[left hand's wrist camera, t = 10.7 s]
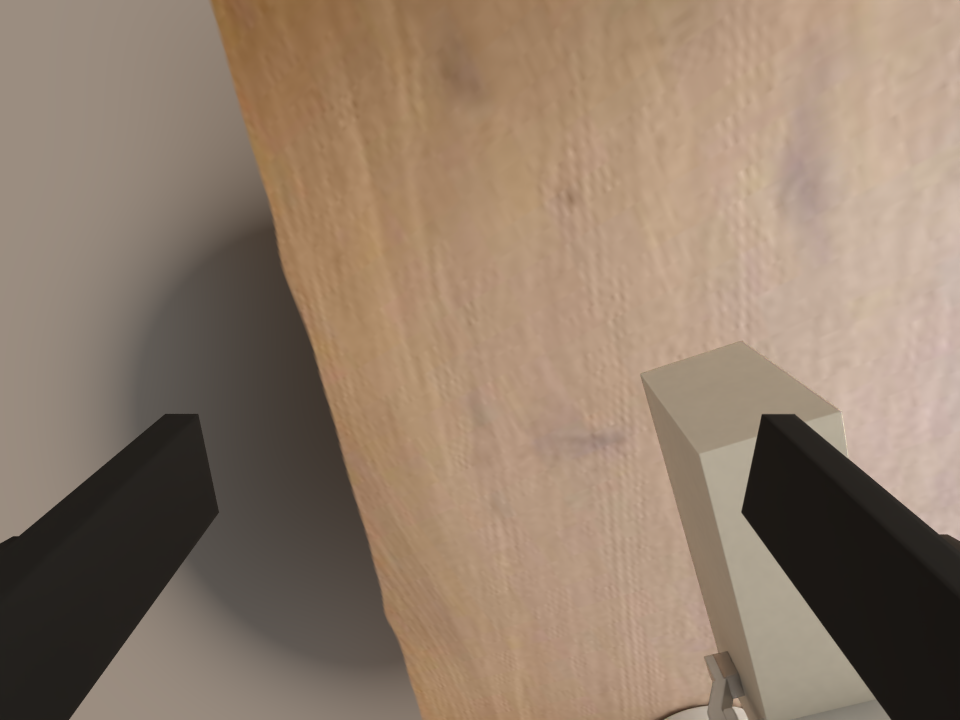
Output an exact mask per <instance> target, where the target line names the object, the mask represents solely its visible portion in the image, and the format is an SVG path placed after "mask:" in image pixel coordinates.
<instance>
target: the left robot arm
mask: <svg viewBox="0 0 960 720" xmlns="http://www.w3.org/2000/svg"><path fill="white" fill-rule="evenodd" d="M218 513H219V511H218V506H217V501H216V496H215V492H214V487H213V482H212V477H211V473H210V468H209V463H208V458H207V454H206V449H205V444H204V439H203V435H202V430H201V425H200V420H199V415H198V414H165V415H164V416H162V417H161V418H160V419H159V420H158V421H156V422H155V423H154V424H153V425H152V426H150V427H149V428H148V429H147V430H146V431H144V432H143V433H142V434H141V435H140V436H138V437H137V438H136V439H135V440H134V441H132V442H131V443H130V444H129V445H128V446H126V447H125V448H124V449H123V450H122V451H120V452H119V453H118V454H117V455H116V456H114V457H113V458H112V459H111V460H110V461H109V462H107V463H106V464H105V465H104V466H102V467H101V468H100V469H99V470H98V471H97V472H95V473H94V474H93V475H92V476H91V477H89V478H88V479H87V480H86V481H85V482H83V483H82V484H81V485H80V486H79V487H77V488H76V489H75V490H74V491H73V492H71V493H70V494H69V495H68V496H67V497H65V498H64V499H63V500H62V501H61V502H59V503H58V504H57V505H56V506H55V507H53V508H52V509H51V510H50V511H49V512H47V513H46V514H45V515H44V516H43V517H41V518H40V519H39V520H38V521H37V522H35V523H34V524H33V525H32V526H31V527H29V528H28V529H27V530H26V531H25V532H23V533H22V534H21V535H20V536H13V537H11V538H9V539H8V540H6V541H4V542H2V543H0V720H69V719H70V717H71V716H72V715H73V713H74V712H75V711H76V709H77V708H78V706H79V705H80V704H81V702H82V701H83V700H84V698H85V697H86V695H87V694H88V693H89V691H90V690H91V689H92V687H93V686H94V684H95V683H96V682H97V680H98V679H99V677H100V676H101V675H102V673H103V672H104V671H105V669H106V668H107V666H108V665H109V664H110V662H111V661H112V659H113V658H114V657H115V655H116V654H117V653H118V651H119V650H120V648H121V647H122V646H123V644H124V643H125V641H126V640H127V639H128V637H129V636H130V635H131V633H132V632H133V630H134V629H135V628H136V626H137V625H138V624H139V622H140V621H141V619H142V618H143V617H144V615H145V614H146V612H147V611H148V610H149V608H150V607H151V605H152V604H153V603H154V601H155V600H156V599H157V597H158V596H159V594H160V593H161V592H162V590H163V589H164V588H165V586H166V585H167V583H168V582H169V581H170V579H171V578H172V576H173V575H174V574H175V572H176V571H177V570H178V568H179V567H180V565H181V564H182V563H183V561H184V560H185V558H186V557H187V556H188V554H189V553H190V552H191V550H192V549H193V547H194V546H195V545H196V543H197V542H198V541H199V539H200V538H201V536H202V535H203V534H204V532H205V531H206V529H207V528H208V527H209V525H210V524H211V522H212V521H213V520H214V518H215V517H216V516H217V514H218ZM741 513H742V514H743V516H744V517H745V518H746V520H747V521H748V523H749V524H750V525H751V527H752V528H753V529H754V531H755V532H756V534H757V535H758V536H759V538H760V539H761V541H762V542H763V543H764V545H765V546H766V547H767V549H768V550H769V552H770V553H771V554H772V556H773V557H774V559H775V560H776V561H777V563H778V564H779V565H780V567H781V568H782V570H783V571H784V572H785V574H786V575H787V576H788V578H789V579H790V581H791V582H792V583H793V585H794V586H795V588H796V589H797V590H798V592H799V593H800V594H801V596H802V597H803V599H804V600H805V601H806V603H807V604H808V606H809V607H810V608H811V610H812V611H813V612H814V614H815V615H816V617H817V618H818V619H819V621H820V622H821V624H822V625H823V626H824V628H825V629H826V630H827V632H828V633H829V635H830V636H831V637H832V639H833V640H834V641H835V643H836V644H837V646H838V647H839V648H840V650H841V651H842V653H843V654H844V655H845V657H846V658H847V659H848V661H849V662H850V664H851V665H852V666H853V668H854V669H855V671H856V672H857V673H858V675H859V676H860V677H861V679H862V680H863V682H864V683H865V684H866V686H867V687H868V689H869V690H870V691H871V693H872V694H873V695H874V697H875V698H876V700H877V701H878V702H879V704H880V705H881V706H882V708H883V709H884V711H885V712H886V713H887V715H888V716H889V718H890V719H891V720H960V541H958V540H957V539H955V538H953V537H951V536H949V535H939V534H938V533H937V532H935V531H934V530H933V529H932V528H931V527H929V526H928V525H927V524H926V523H925V522H923V521H922V520H921V519H920V518H919V517H917V516H916V515H915V514H914V513H913V512H911V511H910V510H909V509H908V508H907V507H905V506H904V505H903V504H902V503H901V502H899V501H898V500H897V499H896V498H895V497H893V496H892V495H891V494H890V493H889V492H887V491H886V490H885V489H884V488H883V487H881V486H880V485H879V484H878V483H877V482H876V481H874V480H873V479H872V478H871V477H870V476H868V475H867V474H866V473H865V472H864V471H862V470H861V469H860V468H859V467H858V466H856V465H855V464H854V463H853V462H852V461H850V460H849V459H848V458H847V457H846V456H844V455H843V454H842V453H841V452H840V451H838V450H837V449H836V448H835V447H834V446H832V445H831V444H830V443H829V442H828V441H826V440H825V439H824V438H823V437H822V436H820V435H819V434H818V433H817V432H816V431H814V430H813V429H812V428H811V427H810V426H808V425H807V424H806V423H805V422H804V421H802V420H801V419H800V418H799V417H798V416H796V415H795V414H762V415H761V420H760V425H759V430H758V435H757V439H756V444H755V449H754V454H753V458H752V463H751V468H750V473H749V477H748V482H747V487H746V492H745V496H744V501H743V506H742V511H741Z"/></svg>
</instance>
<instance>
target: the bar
mask: <svg viewBox="0 0 960 720" xmlns="http://www.w3.org/2000/svg"><path fill="white" fill-rule="evenodd" d="M640 376H641V379H642V383H643V386H644V390H645V393H646V397H647V401H648V404H649V408H650V411H651V415H652V418H653V422H654V425H655V429H656V432H657V436H658V440H659V443H660V447H661V450H662V454H663V457H664V461H665V464H666V468H667V472H668V475H669V479H670V482H671V486H672V489H673V493H674V496H675V500H676V503H677V507H678V511H679V514H680V518H681V521H682V525H683V528H684V532H685V535H686V539H687V543H688V546H689V550H690V553H691V557H692V560H693V564H694V567H695V571H696V574H697V578H698V582H699V585H700V589H701V592H702V596H703V599H704V603H705V606H706V610H707V614H708V617H709V621H710V624H711V628H712V631H713V635H714V638H715V642H716V645H717V649H718V653H721V652H726V651H728V653H729V655H730V657H731V659H732V662H733V663H734V665H735V667H736V669H737V671H738V673H739V675H740V679H741V682H742V686H743V690H744V694H745V696H742V697H738V699H739V701H740V703H741V705H742V707H743V709H744V711H745V713H746V715H747V718H748V720H757V719H761V718H764V720H791V719H795V718H800V717H804V716H808V715H812V714H816V713H821V712H825V711H829V710H833V709H838V708H842V707H846V706H850V705H854V704H859V703H863V702H867V701H871V700H876V698H875V697H874V695H873V694H872V693H871V691H870V690H869V689H868V687H867V686H866V684H865V683H864V682H863V680H862V679H861V677H860V676H859V675H858V673H857V672H856V671H855V669H854V668H853V666H852V665H851V664H850V662H849V661H848V659H847V658H846V657H845V655H844V654H843V653H842V651H841V650H840V648H839V647H838V646H837V644H836V643H835V641H834V640H833V639H832V637H831V636H830V635H829V633H828V632H827V630H826V629H825V628H824V626H823V625H822V624H821V622H820V621H819V619H818V618H817V617H816V615H815V614H814V612H813V611H812V610H811V608H810V607H809V606H808V604H807V603H806V601H805V600H804V599H803V597H802V596H801V594H800V593H799V592H798V590H797V589H796V588H795V586H794V585H793V583H792V582H791V581H790V579H789V578H788V576H787V575H786V574H785V572H784V571H783V570H782V568H781V567H780V565H779V564H778V563H777V561H776V560H775V559H774V557H773V556H772V554H771V553H770V552H769V550H768V549H767V547H766V546H765V545H764V543H763V542H762V541H761V539H760V538H759V536H758V535H757V534H756V532H755V531H754V529H753V528H752V527H751V525H750V524H749V523H748V521H747V520H746V518H745V517H744V516H743V514H742V513H741V511H742V506H743V501H744V496H745V492H746V487H747V482H748V477H749V473H750V468H751V463H752V458H753V454H754V449H755V444H756V439H757V435H758V430H759V425H760V420H761V415H762V414H795V415H796V416H798V417H799V418H800V419H801V420H802V421H804V422H805V423H806V424H807V425H808V426H810V427H811V428H812V429H813V430H814V431H816V432H817V433H818V434H819V435H820V436H822V437H823V438H824V439H825V440H826V441H828V442H829V443H830V444H831V445H832V446H834V447H835V448H836V449H837V450H838V451H840V452H841V453H842V454H843V455H844V456H846V457H847V458H848V451H847V444H846V437H845V430H844V423H843V416H842V411H841V410H839V409H838V408H836V407H835V406H834V405H832V404H831V403H829V402H828V401H826V400H825V399H824V398H822V397H821V396H819V395H818V394H817V393H815V392H814V391H812V390H811V389H810V388H808V387H807V386H805V385H804V384H803V383H801V382H800V381H798V380H797V379H795V378H794V377H793V376H791V375H790V374H788V373H787V372H786V371H784V370H783V369H781V368H780V367H779V366H777V365H776V364H774V363H773V362H772V361H770V360H769V359H767V358H766V357H765V356H763V355H762V354H760V353H759V352H757V351H756V350H755V349H753V348H752V347H750V346H749V345H748V344H746V343H745V342H743V341H739V342H736V343H733V344H730V345H727V346H724V347H721V348H718V349H715V350H712V351H708V352H705V353H702V354H699V355H696V356H693V357H690V358H687V359H684V360H681V361H678V362H675V363H672V364H668V365H665V366H662V367H659V368H656V369H653V370H650V371H647V372H644V373H641V374H640ZM848 459H849V458H848Z"/></svg>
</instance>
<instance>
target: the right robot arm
mask: <svg viewBox="0 0 960 720" xmlns="http://www.w3.org/2000/svg"><path fill="white" fill-rule="evenodd" d="M704 658H705V662H706V665H707V669H708V671H709V674H710V677H711V680H712V682H713V683H712V689H711V694H710V699H709V705H708V706H701V707H695V708H691V709H687V710H684V711H681V712H678V713H676V714H673V715H671V716H669V717H667V718H666V719H664V720H748V718H747V715H746V713H745V711H744V709H742V708H738V707H733V706H732V704H733V699H735V698H738V697H742V696H745V694H744V690H743V686H742V682H741V679H740V675H739V673H738V671H737V669H736V667H735V665H734V663H733V662H732V659H731V657H730V655H729V653H728V651H726V652H721V653H717V654H713V655H709V656H705V657H704ZM757 720H764V718H761V719H757ZM791 720H891V719H890V718H889V716H888V715H887V713H886V712H885V711H884V709H883V708H882V706H881V705H880V704H879V702H878V701H877V700H871V701H867V702H863V703H859V704H854V705H850V706H846V707H842V708H838V709H833V710H829V711H825V712H821V713H816V714H812V715H808V716H804V717H800V718H795V719H791Z"/></svg>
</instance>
